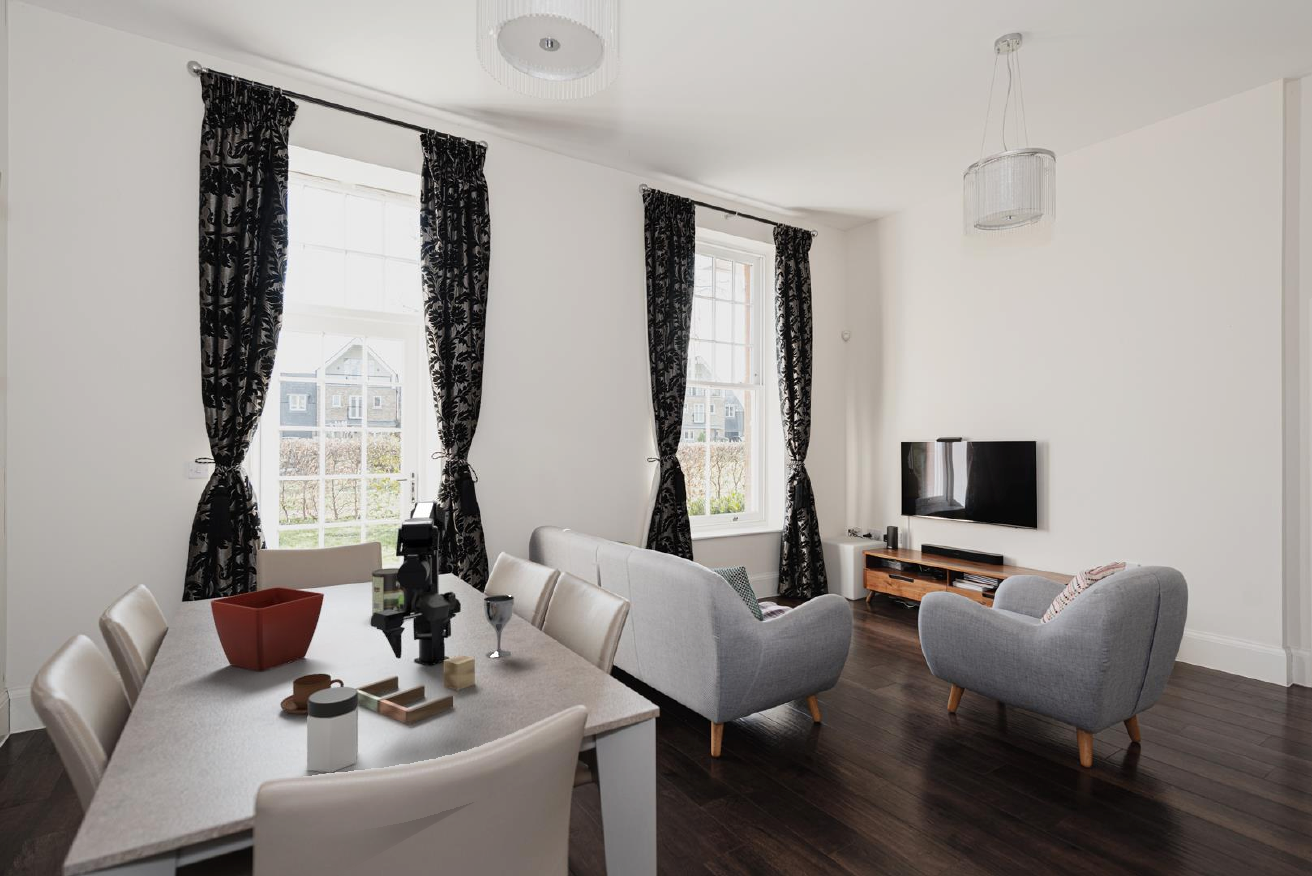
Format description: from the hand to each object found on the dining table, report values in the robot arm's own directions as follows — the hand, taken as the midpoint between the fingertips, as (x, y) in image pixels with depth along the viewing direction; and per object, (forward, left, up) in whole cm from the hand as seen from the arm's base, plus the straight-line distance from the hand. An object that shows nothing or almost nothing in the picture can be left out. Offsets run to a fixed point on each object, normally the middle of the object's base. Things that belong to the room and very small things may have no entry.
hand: (417, 652), depth 146 cm
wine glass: (-15, +36, -12) cm, 40 cm away
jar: (+8, -23, -12) cm, 28 cm away
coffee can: (-78, +44, -12) cm, 90 cm away
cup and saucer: (-19, -13, -12) cm, 26 cm away
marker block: (-5, +15, -12) cm, 19 cm away
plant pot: (-59, -3, -12) cm, 60 cm away
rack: (-5, 0, -12) cm, 13 cm away
